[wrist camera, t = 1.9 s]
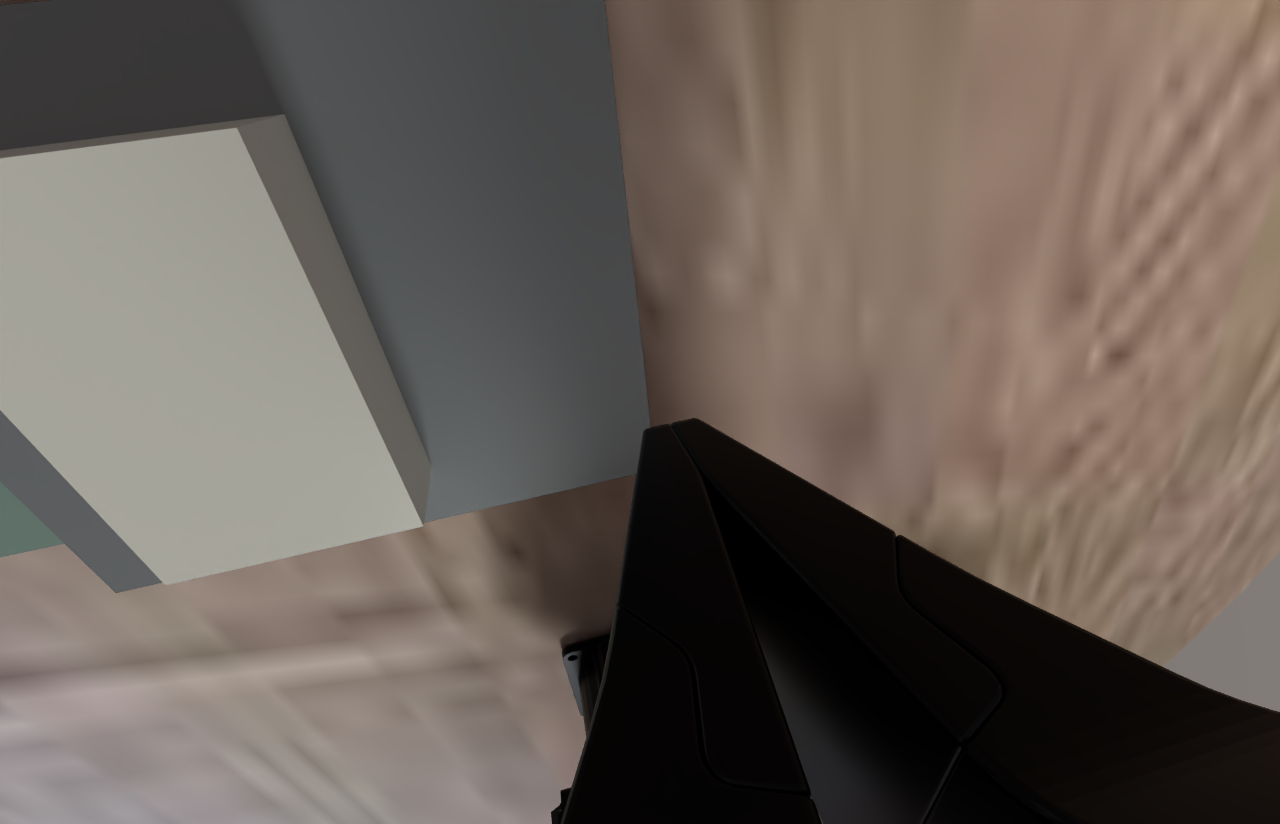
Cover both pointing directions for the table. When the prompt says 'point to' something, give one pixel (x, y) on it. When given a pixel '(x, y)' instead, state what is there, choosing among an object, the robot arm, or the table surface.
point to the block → (199, 348)
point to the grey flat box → (392, 210)
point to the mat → (21, 527)
